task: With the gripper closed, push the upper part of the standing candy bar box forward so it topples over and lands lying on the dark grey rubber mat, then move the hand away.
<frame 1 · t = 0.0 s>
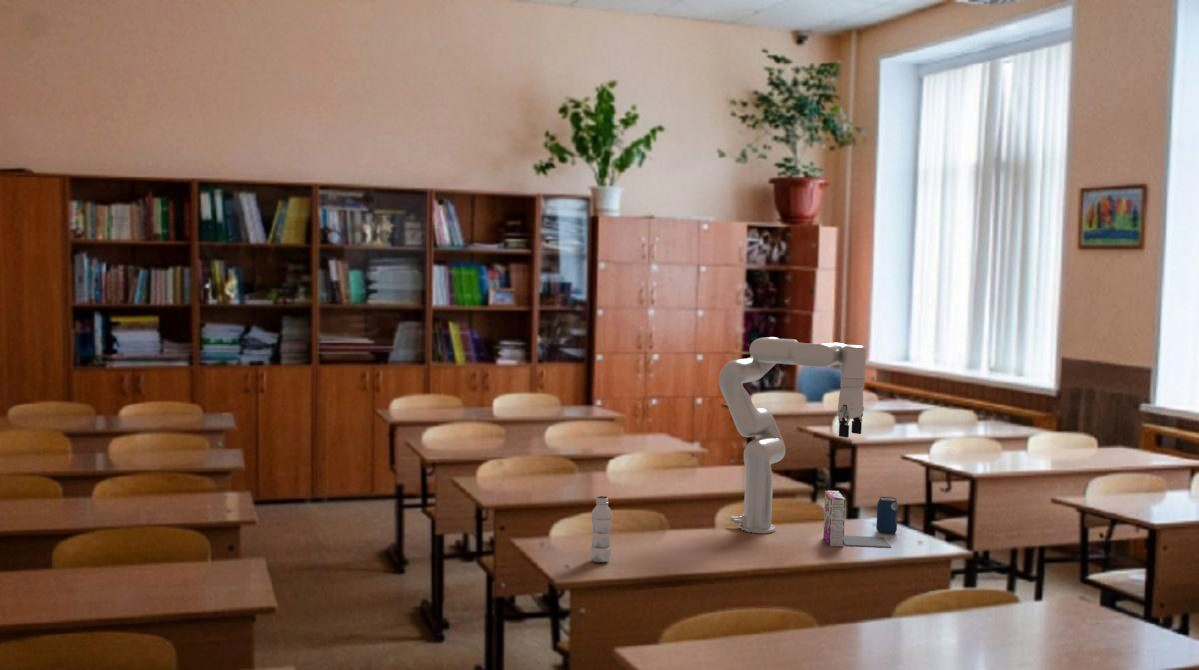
hand: (850, 435, 349), 37 cm above the table, tool pointing down, fingers open, 9 cm apart
mat: (864, 542, 359), on the table
candy bar box: (832, 543, 357), on the table
soda can: (886, 533, 372), on the table
plastic bottle: (600, 562, 327), on the table
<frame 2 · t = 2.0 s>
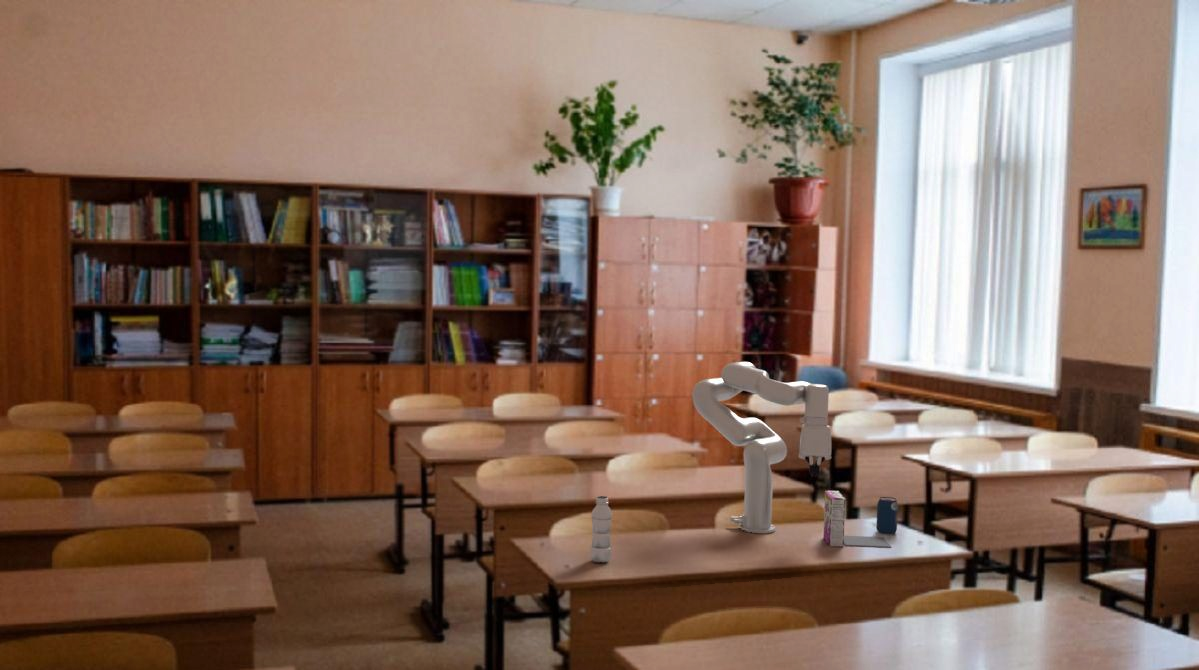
hand: (814, 476, 355), 22 cm above the table, tool pointing down, fingers closed
nothing on the table moved.
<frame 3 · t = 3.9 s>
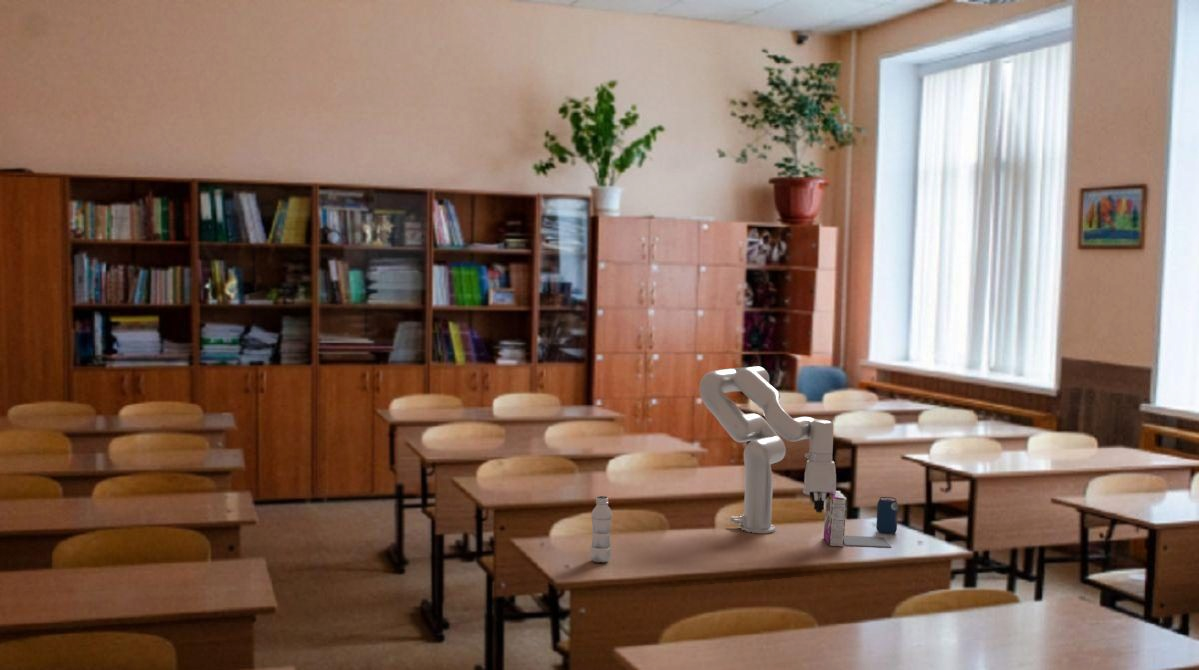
hand: (818, 511, 356), 10 cm above the table, tool pointing down, fingers closed
nothing on the table moved.
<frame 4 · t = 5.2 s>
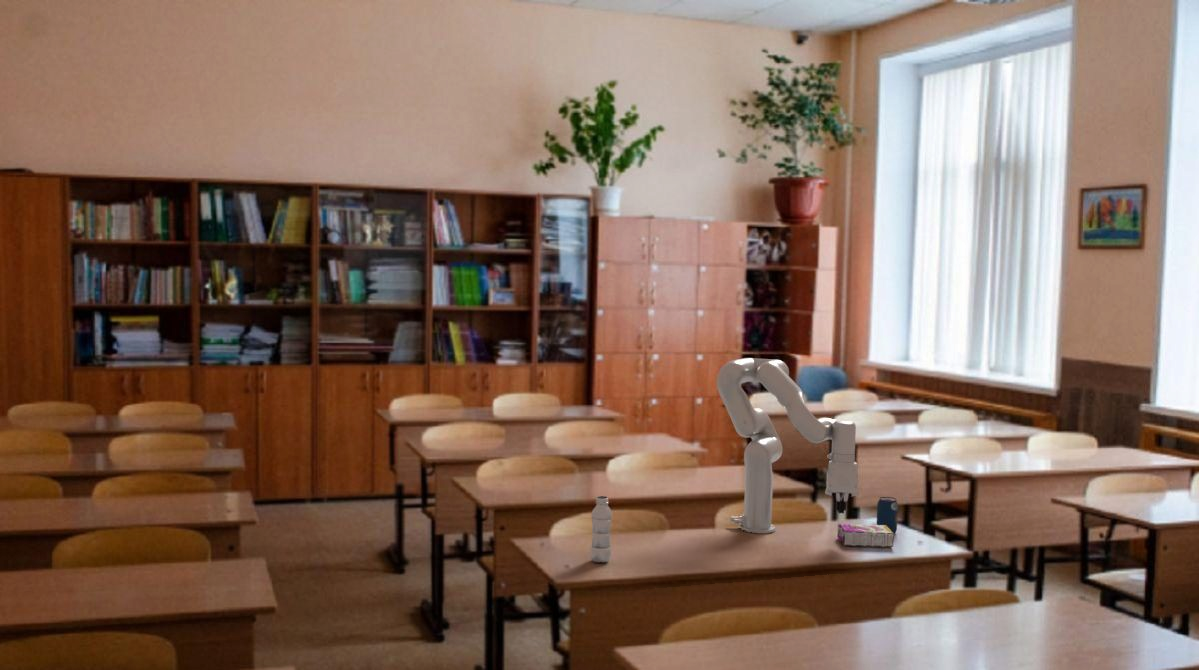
hand: (840, 512, 356), 10 cm above the table, tool pointing down, fingers closed
candy bar box: (840, 533, 357), point 3 cm above the table, touching mat
everything else where it was.
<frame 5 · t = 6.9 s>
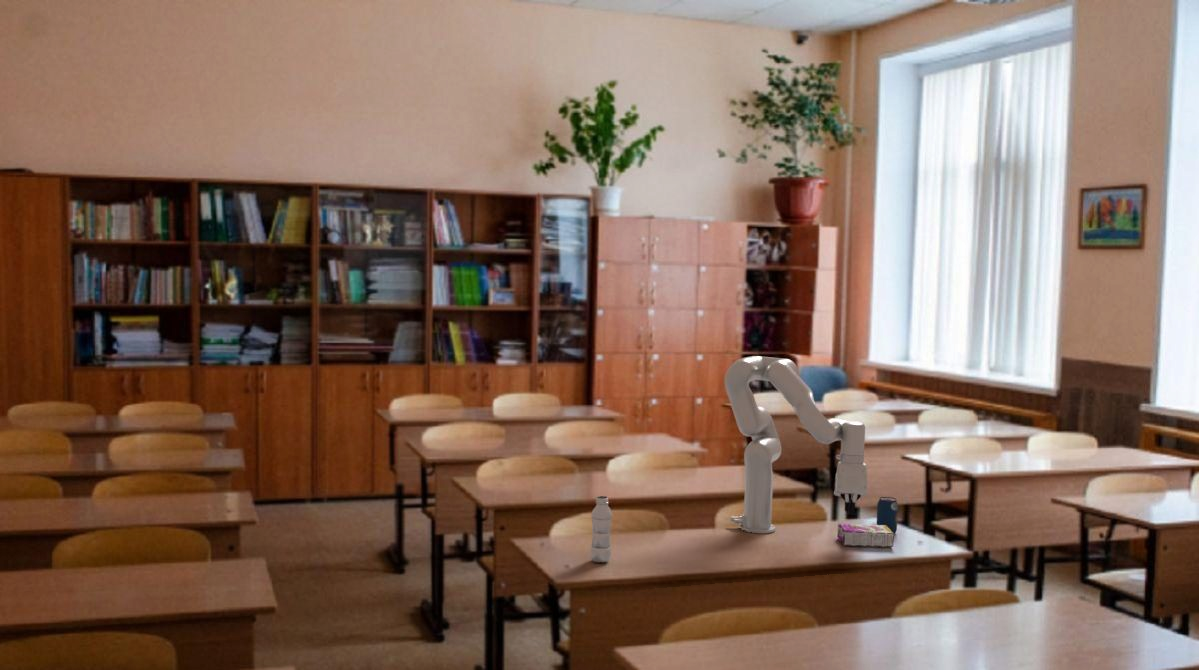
hand: (849, 513, 356), 10 cm above the table, tool pointing down, fingers closed
nothing on the table moved.
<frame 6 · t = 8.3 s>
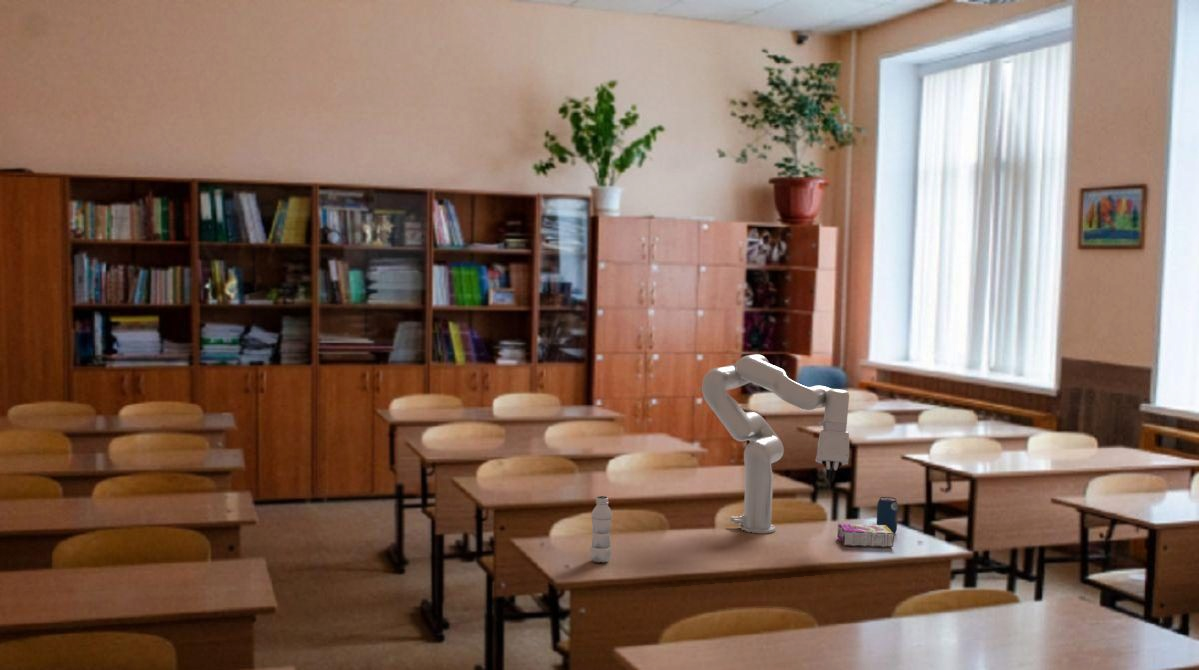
hand: (830, 480, 356), 21 cm above the table, tool pointing down, fingers closed
nothing on the table moved.
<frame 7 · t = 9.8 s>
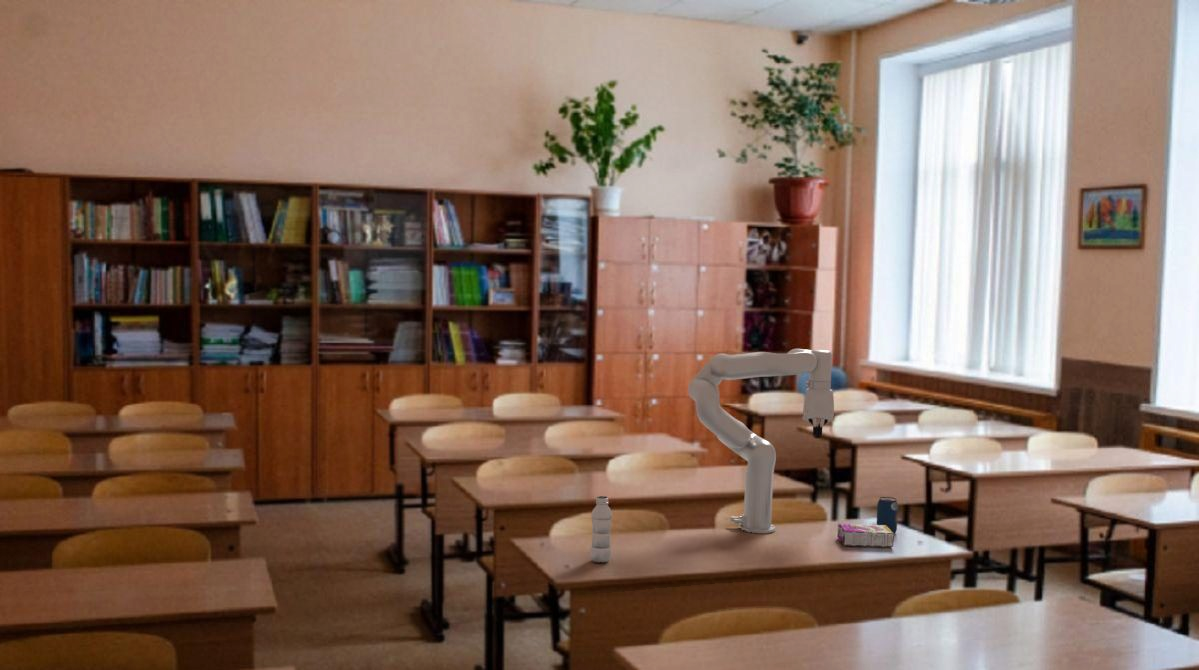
hand: (817, 437, 373), 32 cm above the table, tool pointing down, fingers closed
nothing on the table moved.
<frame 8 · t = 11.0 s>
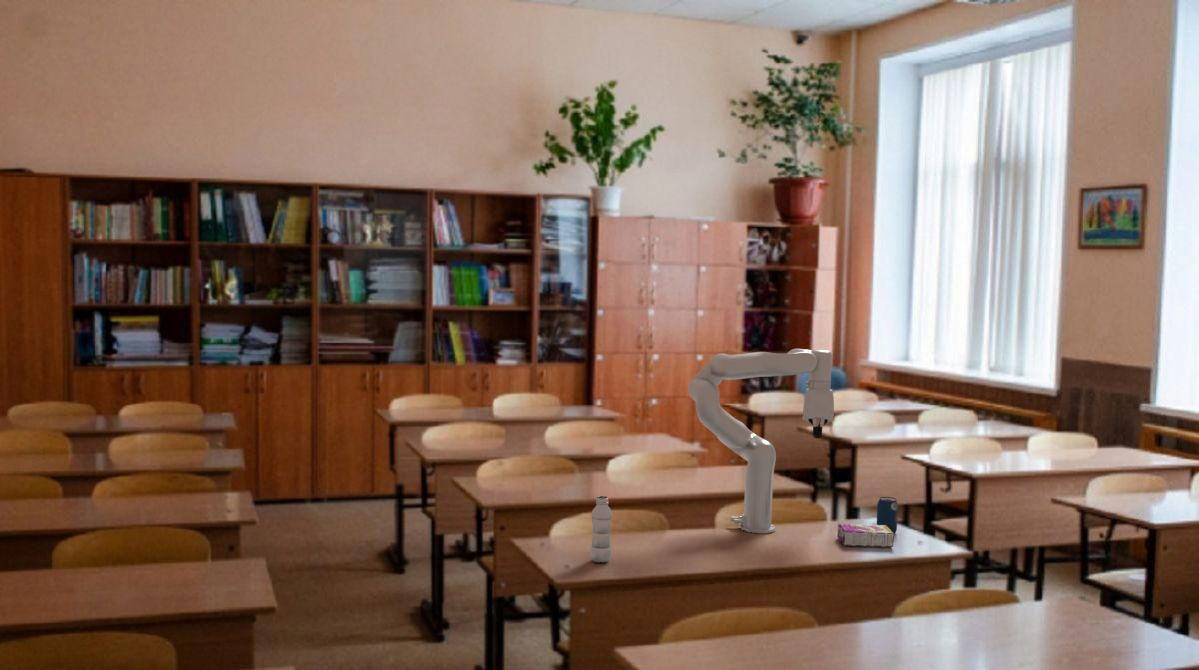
hand: (817, 437, 373), 32 cm above the table, tool pointing down, fingers closed
nothing on the table moved.
at the end: candy bar box tilted 91°; candy bar box inside the target area (7.3 cm from its centre), point 2.9 cm above the table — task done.
